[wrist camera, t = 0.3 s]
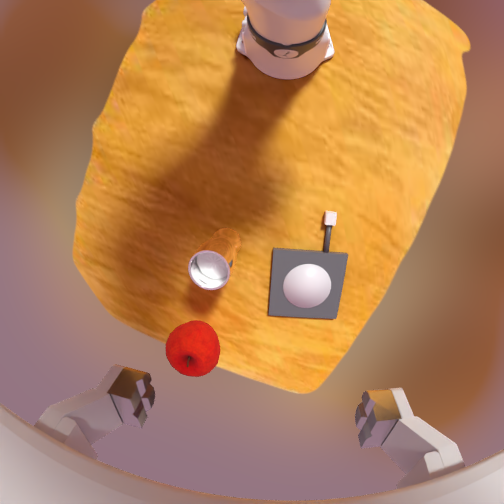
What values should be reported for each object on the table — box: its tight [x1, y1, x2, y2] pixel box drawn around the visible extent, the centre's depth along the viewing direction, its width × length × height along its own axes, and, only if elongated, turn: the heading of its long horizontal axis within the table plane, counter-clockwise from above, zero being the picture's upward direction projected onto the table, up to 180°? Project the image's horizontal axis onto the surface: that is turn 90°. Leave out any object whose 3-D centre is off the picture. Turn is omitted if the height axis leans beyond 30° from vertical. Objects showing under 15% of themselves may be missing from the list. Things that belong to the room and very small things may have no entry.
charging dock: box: [269, 211, 348, 319], centre depth 55 cm, size 23×15×2 cm, turn 178°
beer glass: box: [188, 228, 241, 290], centre depth 49 cm, size 7×7×15 cm
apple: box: [166, 321, 220, 377], centre depth 57 cm, size 12×12×13 cm
